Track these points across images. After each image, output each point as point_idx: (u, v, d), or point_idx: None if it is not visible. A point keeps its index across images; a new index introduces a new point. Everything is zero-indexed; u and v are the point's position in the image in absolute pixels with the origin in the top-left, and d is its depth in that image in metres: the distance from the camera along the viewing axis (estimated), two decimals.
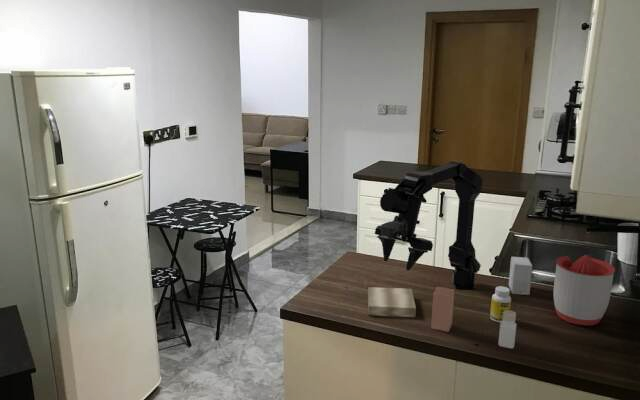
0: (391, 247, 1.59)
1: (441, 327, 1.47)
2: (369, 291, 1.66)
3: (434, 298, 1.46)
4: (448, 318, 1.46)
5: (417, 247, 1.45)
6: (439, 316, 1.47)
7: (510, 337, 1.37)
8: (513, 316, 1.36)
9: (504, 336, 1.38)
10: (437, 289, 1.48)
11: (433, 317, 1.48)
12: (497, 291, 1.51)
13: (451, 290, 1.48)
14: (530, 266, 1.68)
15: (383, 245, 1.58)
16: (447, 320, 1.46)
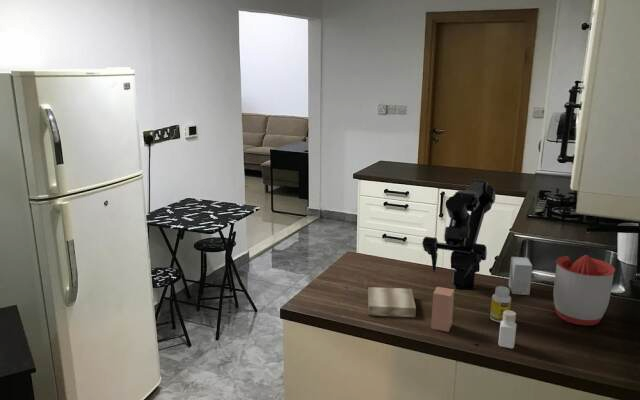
0: (436, 260, 1.59)
1: (441, 327, 1.47)
2: (369, 291, 1.66)
3: (434, 298, 1.46)
4: (448, 318, 1.46)
5: (482, 250, 1.51)
6: (439, 316, 1.47)
7: (510, 337, 1.37)
8: (513, 316, 1.36)
9: (504, 336, 1.38)
10: (437, 289, 1.48)
11: (433, 317, 1.48)
12: (497, 291, 1.51)
13: (451, 290, 1.48)
14: (530, 266, 1.68)
15: (432, 255, 1.57)
16: (447, 320, 1.46)
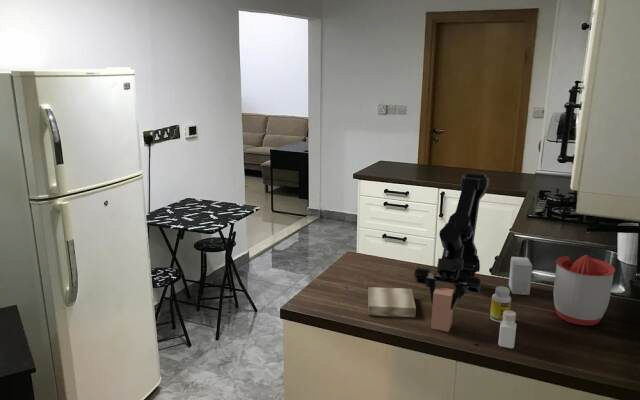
0: None
1: (441, 327, 1.47)
2: (369, 291, 1.66)
3: (434, 298, 1.46)
4: (448, 318, 1.46)
5: (476, 283, 1.45)
6: (439, 316, 1.47)
7: (510, 337, 1.37)
8: (513, 316, 1.36)
9: (504, 336, 1.38)
10: (437, 289, 1.48)
11: (433, 317, 1.48)
12: (497, 291, 1.51)
13: (451, 290, 1.48)
14: (530, 266, 1.68)
15: (431, 288, 1.50)
16: (447, 320, 1.46)
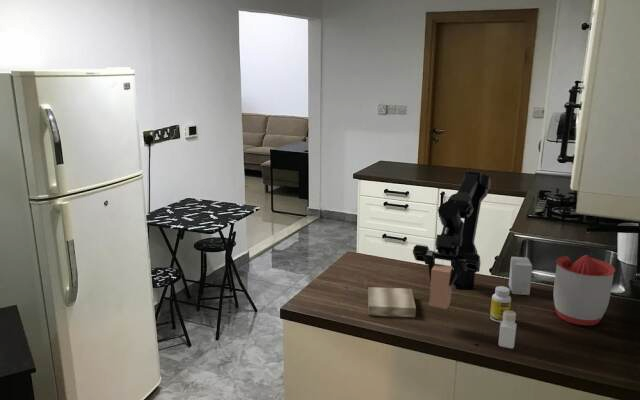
0: None
1: (439, 304, 1.46)
2: (369, 291, 1.66)
3: (432, 275, 1.45)
4: (446, 295, 1.45)
5: (475, 259, 1.43)
6: (437, 293, 1.46)
7: (510, 337, 1.37)
8: (513, 316, 1.36)
9: (504, 336, 1.38)
10: (435, 266, 1.47)
11: (431, 294, 1.46)
12: (497, 291, 1.51)
13: (450, 267, 1.47)
14: (530, 266, 1.68)
15: (430, 265, 1.48)
16: (445, 297, 1.45)
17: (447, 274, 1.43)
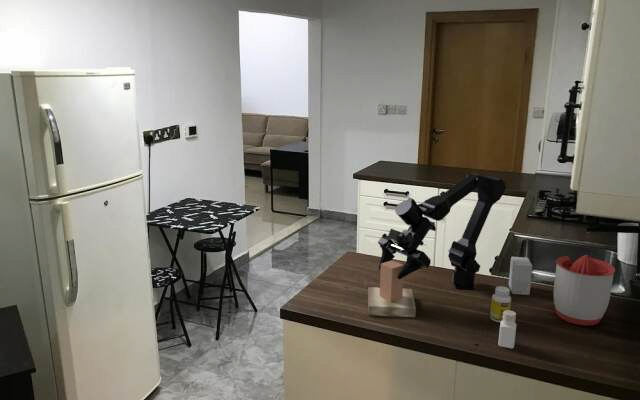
0: (388, 260, 1.64)
1: (386, 296, 1.60)
2: (369, 291, 1.66)
3: (381, 268, 1.60)
4: (390, 289, 1.58)
5: (418, 256, 1.52)
6: (384, 286, 1.60)
7: (510, 337, 1.37)
8: (513, 316, 1.36)
9: (504, 336, 1.38)
10: (389, 262, 1.61)
11: (381, 286, 1.61)
12: (497, 291, 1.51)
13: (400, 265, 1.58)
14: (530, 266, 1.68)
15: (383, 254, 1.63)
16: (389, 290, 1.58)
17: (390, 270, 1.56)
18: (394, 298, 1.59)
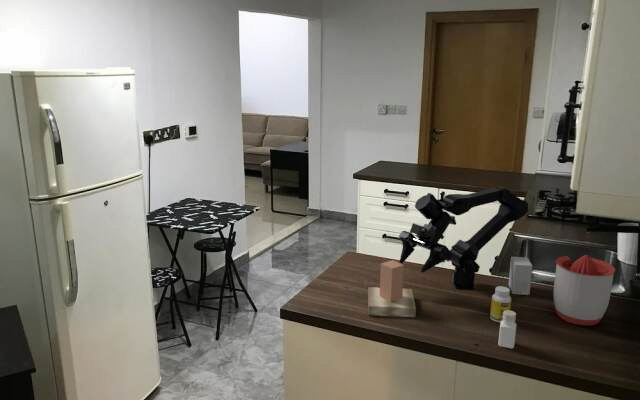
0: (409, 253, 1.70)
1: (386, 296, 1.60)
2: (369, 291, 1.66)
3: (381, 268, 1.60)
4: (390, 289, 1.58)
5: (440, 250, 1.58)
6: (384, 286, 1.60)
7: (510, 337, 1.37)
8: (513, 316, 1.36)
9: (504, 336, 1.38)
10: (389, 262, 1.61)
11: (381, 286, 1.61)
12: (497, 291, 1.51)
13: (400, 265, 1.58)
14: (530, 266, 1.68)
15: (403, 248, 1.69)
16: (389, 290, 1.58)
17: (390, 270, 1.56)
18: (394, 298, 1.59)
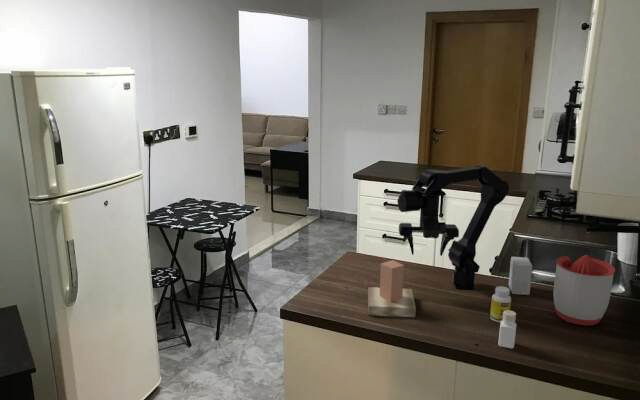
0: None
1: (386, 296, 1.60)
2: (369, 291, 1.66)
3: (381, 268, 1.60)
4: (390, 289, 1.58)
5: (456, 236, 1.65)
6: (384, 286, 1.60)
7: (510, 337, 1.37)
8: (513, 316, 1.36)
9: (504, 336, 1.38)
10: (389, 262, 1.61)
11: (381, 286, 1.61)
12: (497, 291, 1.51)
13: (400, 265, 1.58)
14: (530, 266, 1.68)
15: (410, 242, 1.68)
16: (389, 290, 1.58)
17: (390, 270, 1.56)
18: (394, 298, 1.59)
